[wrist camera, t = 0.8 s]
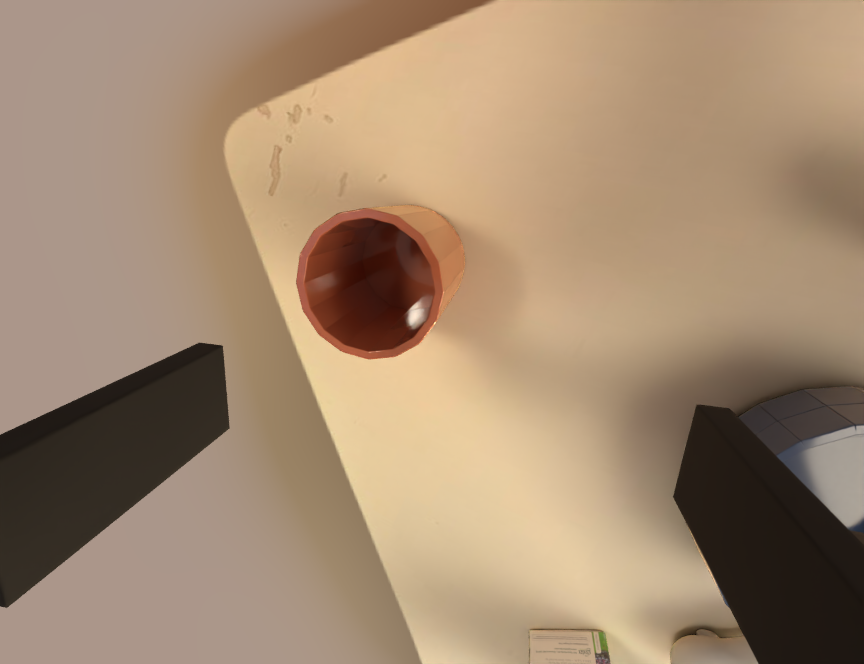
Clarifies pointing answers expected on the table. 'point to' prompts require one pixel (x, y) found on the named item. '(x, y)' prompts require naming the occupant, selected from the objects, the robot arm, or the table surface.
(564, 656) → the syrup box
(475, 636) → the table surface
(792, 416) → the bowl
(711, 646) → the pale two-lobed sculpture
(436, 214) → the cup
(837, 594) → the robot arm
